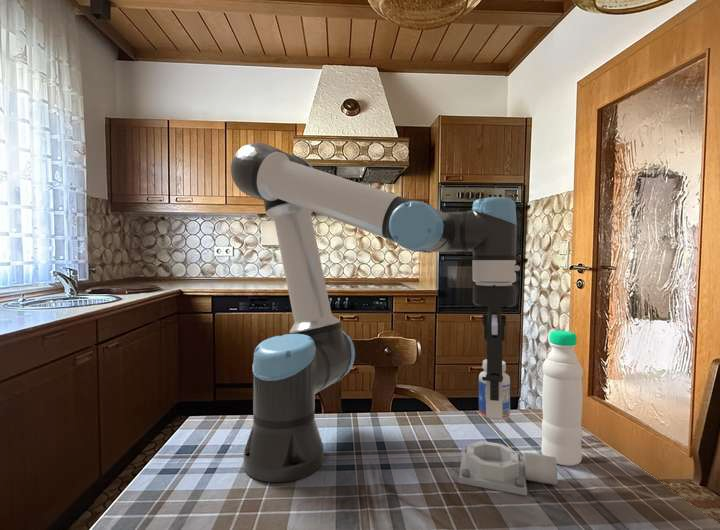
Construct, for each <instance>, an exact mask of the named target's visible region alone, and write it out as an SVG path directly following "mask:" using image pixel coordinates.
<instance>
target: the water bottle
mask: <svg viewBox="0 0 720 530" xmlns="http://www.w3.org/2000/svg"><path fill="white" fill-rule="evenodd" d="M577 342H578V339H577V334H576V333H575V332H573V331H568V330H552V331H550V332H549V344H550V345H551V350H550V351H549V353H548V354H547V357H546V358H545V360H544V362H543V364H542V372H543V377H542V378H543V379H542V389H541V390H542V393H541V394H542V399H541V400H542V401H541V404H542V405H541V407H542V409H541V410H542V421H541V433H542V438H541V449H540V450H541V455H545V456H551V457H555V458H556V463H557V465H560V466H566V467H572V466H573V467H574V466H577V465H579V464H580V463H581V462H582V459H583V452H582V450H583V448H582V438H583V429H582V418H583V401H584V400H583V396H584V394H583V381H582V379H583V376H584V369H583V366H582V365H581V362H580V361H579V359H578V355H577V354H576V353H575V348H576V347H577V346H576V345H577V344H578V343H577Z"/></svg>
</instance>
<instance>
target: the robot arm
mask: <svg viewBox="0 0 720 530" xmlns="http://www.w3.org/2000/svg"><path fill="white" fill-rule="evenodd" d="M230 174H231V178H232V181H233V183H234V184H235V186H236V187H237V189H238V190H239V191H240V192H242V193H243V194H244V195H247V196H249V197H251V198H254V199H258V200H262V201H263V205H264V211H265V214H266V217H269V219H272V220H273V221H274V226H275V230H276V236H277V241H278V247H279V251H280V257H281V261H282V265H283V266H282V267H283V271H284V276H285V281H286V286H287V287H286V288H287V292H288V295H289V301H290V307H291V313H292V316H293V317H292V318H293V321H294V322H293V324H292V327H291V328H290V330H289V333H286V334H283V335H275V336H272V337H268V338H267V339H264V340H262V341H261V342H260V343H258V345H257V346H256V347H255V349H254V352H253V363H252V367H251V368H252V369H251V371H252V411H253V413H252V414H253V418H252V419H253V420H252V421H253V422H252V426H251V429H250V432H249V435H248V439H247V442H246V444H245V447H244V451H243V469H244V471H245V473H246V474H247V475H249V476H250V477H251V478H253V479H255V480H257V481H262V482H266V483H267V482H268V483H286V482H287V483H288V482H292V481H293V482H294V481H296V480H299V479H303V478H306V477H307V476H310V475H312V474H313V473H315V472H316V471H317V470H318V469H319V468H320V467H321V466H322V464H323V462H324V459H325V458H324V457H325V456H324V450H325V449H324V443H323V441H322V437H321V435H320V431H319V428H318V425H317V422H316V416H315V414H316V413H315V412H316V411H315V409H316V408H315V407H316V403H315V399H316V396H315V395H316V394H317V393H320V392H321V391H323V390H325V389H326V388H328V387H329V386H331V385H333V384H336V383H339V381H342V380H343V378H344V377H345V376H346V375H347V374H348V373H349V372H350V371H351V369H352V367H353V365H354V361H355V358H356V351H355V346H354V345H355V344H354V342H353V341H352V338H351V337H350V336H349V335H348V334H346V332H345V331H343V330H342V325H341V321H340V320H341V319H339V318H338V317H336V316H334V315H333V314H332V309H331V306H330V305H331V304H330V299H329V295H328V290H327V286H326V280H325V276H324V272H323V271H324V270H323V266H322V265H323V264H322V262H321V256H320V252H319V247H318V242H317V237H316V233H315V232H316V231H315V227H314V223H313V219H312V218H313V217H312V213H313V212H314V213H316V214H319V215H322V216H324V217H326V218H330V219H332V220H335V221H338V222H340V223H343V224H346V225H348V226H352V227H353V228H357V229H359V230H362V231H365V232H367V233H370V234H372V235H375V236H378V237H381V238H383V239H386V240H388V241H390V242H393V243H396V244H397V245H398V246H400V247H402V248H404V249H406V250H409V251H412V252H418V253H427V254H429V253H449V252H464V253H465V252H472V262H471V263H472V265H471V267H472V268H471V269H472V274H471V275H472V281H473V282H475V284H473V286H472V303H473V304H474V305H475V306H477V307H487V313H486V314H485V313H483V314H482V325H483V339H484V341H486V359H487V375H486V377H482V380H484V381H486V417H492V418H500V419H502V381H503V376H502V361H503V342H504V341H505V337H506V336H505V335H506V334H505V329H506V326H507V317H506V315H505V314H502V308H512V307H514V306H516V305H517V287H516V285H514V284H513V283H515V282H517V273H516V272H518V271H520V270H521V267H520V265H516V264H517V236H518V235H517V230H518V227H517V225H518V222H517V210H516V209H517V206H516V202H515V201H514V200H513V199H512V198H510V197H503V196H501V197H500V196H498V197H497V196H496V197H495V196H491V197H490V196H489V197H485V198H478V199H476V200H474V201H473V203H472V208H471V210H466V211H456V212H454V211H453V212H449V211H448V212H447V211H446V212H443V211H442V210H440V209H437V208H435V207H434V206H433V205H432V204H430V203H426V202H423V201H420V200H414V199H410V198H407V197H404V196H400V195H397V194H395V193H391V192H388V191H385V190H382V189H379V188H375V187H373V186H369V185H366V184H363V183H360V182H358V181H357V182H356V181H354V180H350V179H347V178H344V177H341V176H338V175H335V174H333V173H329V172H326V171H322V170H319V169H316V168H314V167H313V166H312V165H311V164H310V163H309V162H308V161H307V160H304V158H302V157H300V156H299V155H295V154H290V153H288V152H286V151H283V150H281V149H279V148H276V147H274V146H273V145H270V144H266V143H263V142H251V143H248V144H245V145H243V146H241V147H240V148H239V149H238V150H236V153H235V154H234V155H233V158H232V160H231V162H230ZM486 417H485V418H486Z"/></svg>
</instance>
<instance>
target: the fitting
mask: <svg viewBox="0 0 720 530" xmlns="http://www.w3.org/2000/svg"><path fill="white" fill-rule="evenodd" d="M460 459H461V460H460V465H459V467H460V468H459V474H458V484H462V485H467V486H474V487H477V488H483V489H488V490H494V491H500V492H504V493H509V494H516V495H520V496H526V497H527V496H528V487H527V481H529V482H535V483H536V482H537V483H542V484H547V485H551V486H552V485H554V486H557V485H558V464H557V463H556V458H555V457H551V456H545V455H543V454H538V453H533V452H532V453H530V452H523V457H521V454H519V453H518V452H517V451H515V450H514V449H512V448H510V447H508V446H507V445H505V444H502V443H498V442H490V441H484V440H480V441H476V442H473V443H469V444H467V445H465V446H464V447H463V448H462V452H461V457H460Z"/></svg>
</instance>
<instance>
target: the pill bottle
mask: <svg viewBox="0 0 720 530" xmlns="http://www.w3.org/2000/svg"><path fill="white" fill-rule="evenodd" d="M482 370H483V371H481V372H480V373H479V375H478V411H479V414H480V415H481V416H482V417H484V418H487V419H490V420H495V421H502V420H506V419H508V418H509V417H510V416H511V377H510V376H509V373H506V370H507V364H506V361H504V360H502V376H503V381H502V419H500V418H492V417H486V381H484V380H482V377H486V375H487V359H483V360H482Z"/></svg>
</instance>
